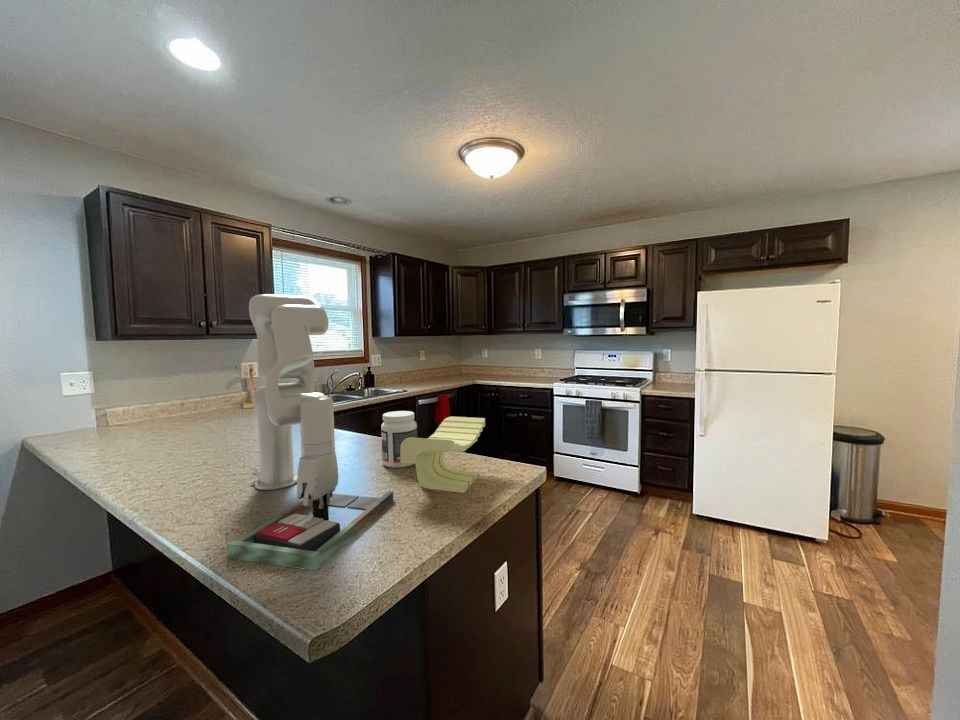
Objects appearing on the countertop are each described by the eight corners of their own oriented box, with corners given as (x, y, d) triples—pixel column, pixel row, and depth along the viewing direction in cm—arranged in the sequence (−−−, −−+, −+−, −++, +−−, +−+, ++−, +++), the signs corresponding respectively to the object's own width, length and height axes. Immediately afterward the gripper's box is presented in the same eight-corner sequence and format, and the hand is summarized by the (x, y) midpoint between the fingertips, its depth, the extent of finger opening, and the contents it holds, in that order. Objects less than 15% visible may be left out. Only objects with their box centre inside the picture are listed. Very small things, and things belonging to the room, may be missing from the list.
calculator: (295, 511, 95) (340, 519, 89) (296, 528, 95) (341, 538, 89) (252, 531, 85) (299, 542, 79) (253, 550, 86) (301, 563, 79)
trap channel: (227, 557, 81) (227, 543, 81) (327, 494, 114) (327, 484, 114) (314, 570, 76) (314, 556, 76) (393, 500, 109) (393, 490, 109)
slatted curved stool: (443, 464, 139) (442, 415, 138) (485, 469, 134) (485, 418, 133) (401, 497, 110) (399, 436, 109) (453, 504, 106) (452, 440, 105)
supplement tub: (423, 459, 146) (422, 410, 145) (409, 470, 134) (408, 417, 133) (391, 457, 149) (390, 409, 148) (375, 468, 137) (373, 416, 136)
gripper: (324, 439, 101) (326, 507, 102) (282, 456, 87) (285, 535, 88) (349, 440, 100) (351, 510, 101) (311, 458, 85) (314, 539, 86)
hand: (321, 522), depth 94 cm, fingers closed
